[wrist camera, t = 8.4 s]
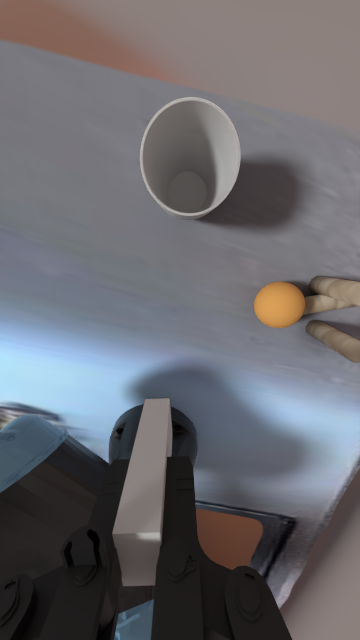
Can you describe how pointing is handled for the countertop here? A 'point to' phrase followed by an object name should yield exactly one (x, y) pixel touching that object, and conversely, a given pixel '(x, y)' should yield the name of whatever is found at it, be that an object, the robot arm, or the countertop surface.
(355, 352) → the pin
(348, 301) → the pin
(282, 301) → the ball
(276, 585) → the countertop surface
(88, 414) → the countertop surface
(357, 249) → the countertop surface
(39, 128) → the countertop surface
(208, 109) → the cup
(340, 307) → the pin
